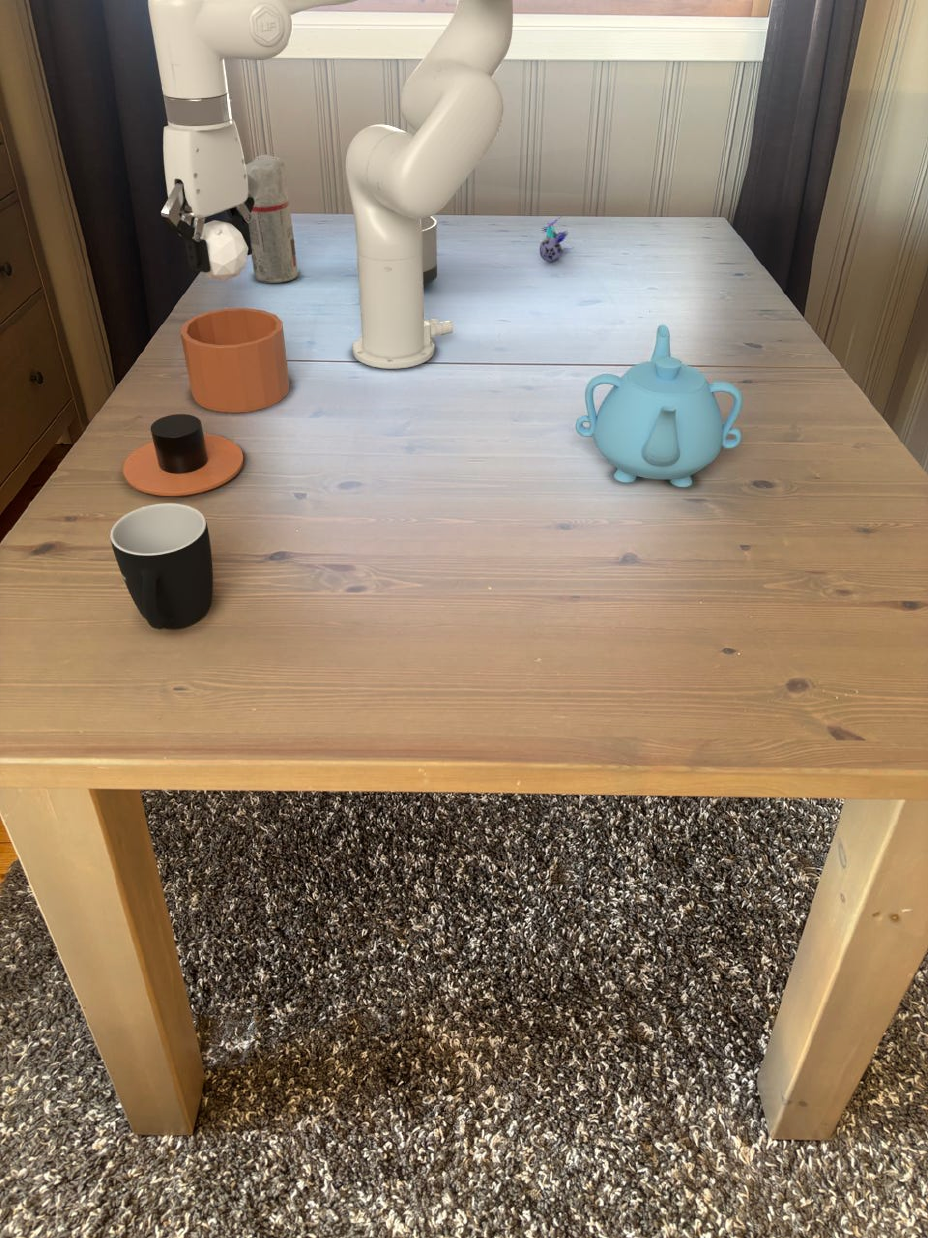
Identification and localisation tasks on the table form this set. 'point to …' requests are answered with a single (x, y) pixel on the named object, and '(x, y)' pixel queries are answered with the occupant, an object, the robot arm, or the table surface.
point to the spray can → (271, 223)
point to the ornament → (224, 250)
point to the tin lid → (182, 459)
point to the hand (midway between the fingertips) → (221, 260)
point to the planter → (429, 249)
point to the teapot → (660, 418)
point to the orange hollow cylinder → (236, 359)
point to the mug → (166, 563)
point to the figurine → (552, 243)
